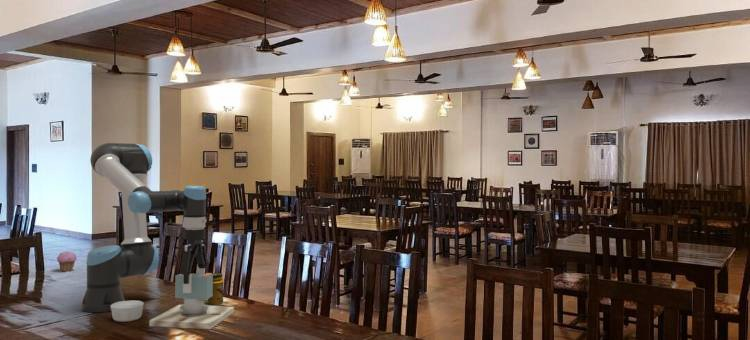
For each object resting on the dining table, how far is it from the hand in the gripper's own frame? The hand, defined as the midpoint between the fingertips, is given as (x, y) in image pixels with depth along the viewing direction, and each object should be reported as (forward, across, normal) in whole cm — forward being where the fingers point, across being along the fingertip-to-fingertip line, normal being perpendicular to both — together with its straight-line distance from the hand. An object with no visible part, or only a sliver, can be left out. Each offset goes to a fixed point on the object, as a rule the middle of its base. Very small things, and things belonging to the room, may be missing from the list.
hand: (194, 289), depth 201 cm
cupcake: (+11, +72, +102) cm, 125 cm away
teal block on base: (+8, 0, 0) cm, 8 cm away
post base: (+11, 0, 0) cm, 11 cm away
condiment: (+11, +22, +2) cm, 25 cm away
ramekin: (+11, -3, +24) cm, 27 cm away
